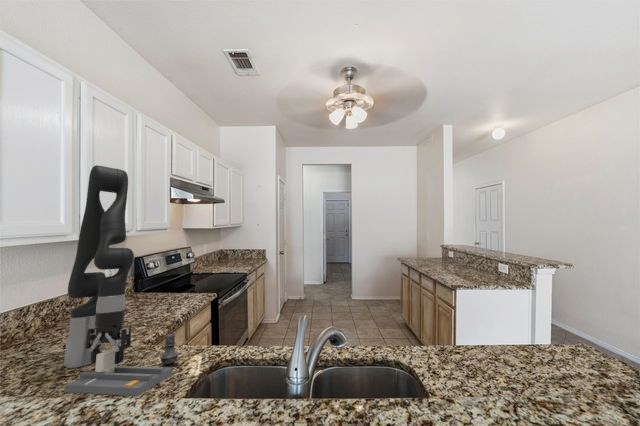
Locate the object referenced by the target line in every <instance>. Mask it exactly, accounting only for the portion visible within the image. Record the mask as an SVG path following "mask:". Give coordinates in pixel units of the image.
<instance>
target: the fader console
mask: <svg viewBox="0 0 640 426" xmlns="http://www.w3.org/2000/svg"><path fill="white" fill-rule="evenodd" d="M94 367H95V368H96V366H94ZM173 370H174V367H161V366H144V365H143V366H139V365H138V366H137V365H136V366H135V365H117V366H115V370H114V373H103V372H95V371H83V372H81V373H80V374H79V378H78V379H76V380H74V381H71V382H69V383H67V384H66V385H65V389H64V392H65V393H67V394H70V393H71V394H88V395H89V394H91V395H105V396H106V395H108V396H109V395H110V396H128V397H129V396H132V397H138V396H140V395H142V394H143V393H145V392H146V391H148V390H149V389H151V388H153V387H155V385H158V384H160V383H161V382H162V381H163V380H166V379H167V378H168V377H170V376H171V375H173Z"/></svg>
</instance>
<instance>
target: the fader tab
mask: <svg viewBox="0 0 640 426" xmlns="http://www.w3.org/2000/svg"><path fill="white" fill-rule="evenodd" d="M115 352H116V350H115V348H111V349H108V350H104V351H101V352H100V353H99V354H97V356H96V363H95V367H96V368H95V370H94V372H103V373H114V370H115V366H118V364H114V361H115Z"/></svg>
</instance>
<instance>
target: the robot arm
mask: <svg viewBox="0 0 640 426" xmlns="http://www.w3.org/2000/svg"><path fill="white" fill-rule="evenodd" d="M128 188H129V176H128V172H126V170H123V169H120V168H113V167H108V166H103V165H94V166H92V168H91V170H90V173H89V178H88V186H87V191H86V192H87V194H86V202H85V209H84V212H83V213H84V214H83V217H82V222H81V226H80V229H79V230H80V231H79V236H78V242H77V248H76V255H75V259H74V263H73V266H72V270H71V273H70V277H69V281H68V285H67V295H68V297H69V298H71V299H82V298H89V297H91V298H90V299H89V301H87V302H85V303H84V304H81V305H79V306H77V307H75V308H73V309H72V310H71V311H70V318H69V321H70V322H69V331H68V337H67V338H66V339H65V350H64V359H63V366H64V367H65V368H67V369H73V368H81V367H85V366H88V365H89V366H90V365H92V364H96V356H97V354H99V353H101V347H102V345H103V344H110V346H112V347H113V349H115V350H116V352H115V361H114V364H117V365H118V364H121V363H122V362H123V361H124V356H125V355H124V354H125V350H126V349H127V348H130V347H131V344H132V336H131V335H132V327H131V326H130V327H126V328H123V327H122V326H123V324H124V321H125V312H126V288H127V287H126V286H127V285H126V284H127V279H128V276H129V272H130V270H131V268H132V265H133V263H134V260H135V254H134V251H133V250H132V249H131V248H129V247H110V246H114V245H119V244H122V243H123V242H125V240H126V238H127V230H126V211H127V210H126V209H127V203H128V202H127V200H128V199H127V198H128ZM101 192H104V193H105V192H106V193H110V194H111V193H112V194H115V195H116V196H115V199H114V201H113V202H112V203H111V205H110V206H109V207H108V208H107V209H106V210H105V209H104V208H103V205H102V201H101V198H100V193H101ZM92 261H93V265H94V266H95V268H97V269H98V270H103V271H104V270H105V271H106V270H117V272H116V273H115V274H112V275H109V276H106V274H105V272H102V271H97V272H86V270H87V268H88V266H89V265H90V264H91V262H92Z"/></svg>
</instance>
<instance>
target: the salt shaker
mask: <svg viewBox="0 0 640 426" xmlns="http://www.w3.org/2000/svg"><path fill="white" fill-rule="evenodd" d="M175 337H176V335H175V333H173V332H172V329H171V330H170V331H169V332H168V333H167V334H166V335H165V343H164V345H163V346H164V352H163V354H161V355H160V357H159V359H160V361H161V366H160V367H173V368H175V367H177V365H178V363H177V359H178V356H179V352H177V351H176V350H175V346H176V342H175ZM176 363H177V364H176Z"/></svg>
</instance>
